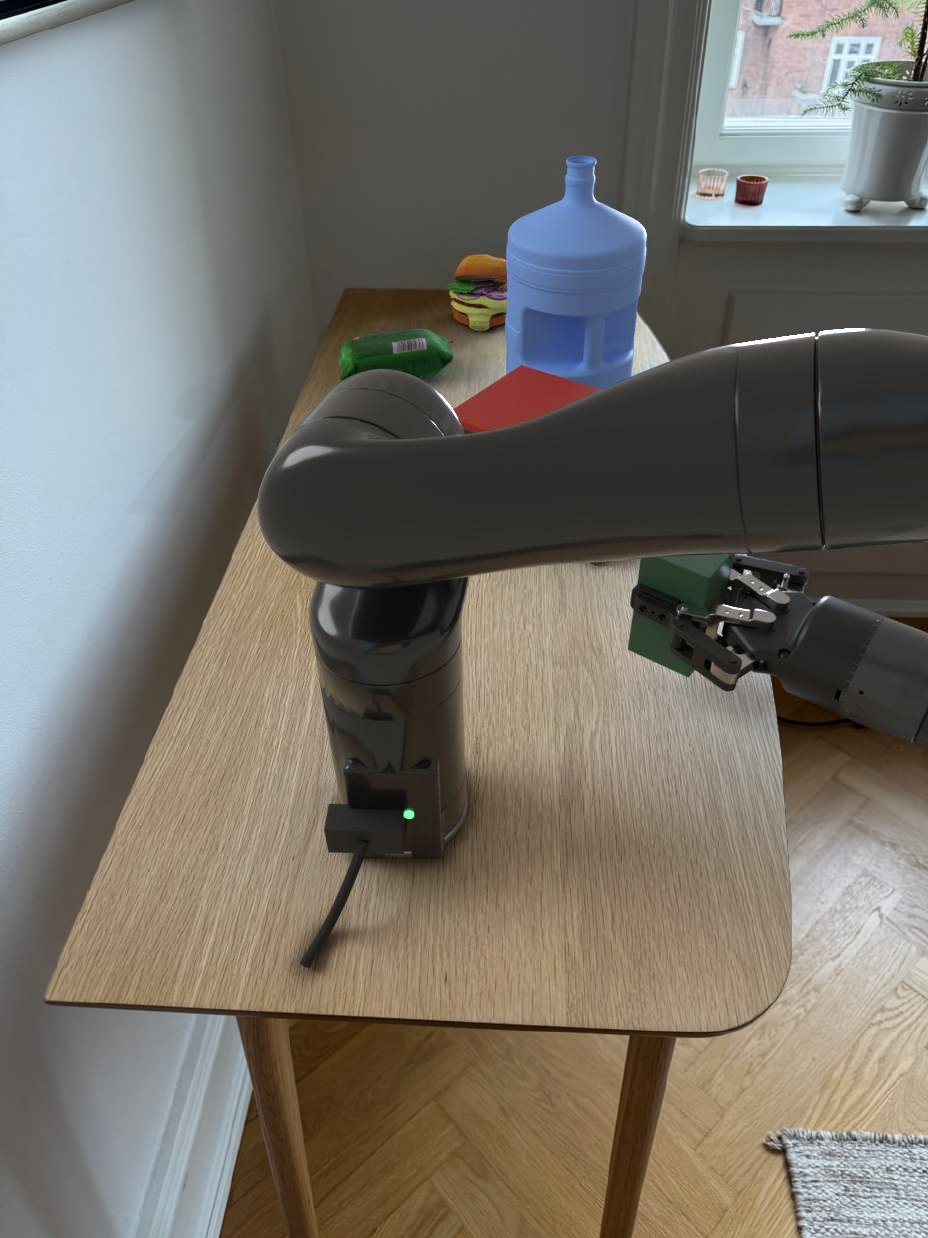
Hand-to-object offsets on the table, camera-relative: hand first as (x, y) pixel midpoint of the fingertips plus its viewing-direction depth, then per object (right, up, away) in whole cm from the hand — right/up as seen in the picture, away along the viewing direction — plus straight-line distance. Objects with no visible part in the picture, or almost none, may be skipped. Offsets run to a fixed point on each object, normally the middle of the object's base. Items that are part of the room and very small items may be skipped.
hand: (650, 578), depth 71 cm
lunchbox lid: (-5, +17, +20) cm, 26 cm away
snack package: (-23, +29, +50) cm, 62 cm away
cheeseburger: (-12, +41, +63) cm, 77 cm away
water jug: (-2, +24, +43) cm, 50 cm away
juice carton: (+2, -6, +3) cm, 7 cm away
